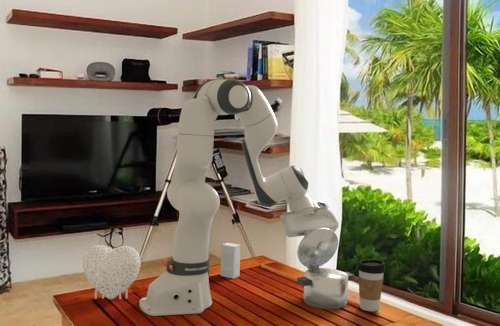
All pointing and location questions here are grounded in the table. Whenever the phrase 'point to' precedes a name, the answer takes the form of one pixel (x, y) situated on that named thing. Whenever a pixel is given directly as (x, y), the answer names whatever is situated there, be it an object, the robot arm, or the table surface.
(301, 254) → the lid
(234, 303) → the table surface
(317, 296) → the cooker pot
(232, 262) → the skincare box
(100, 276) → the decorative heart
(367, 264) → the coffee cup
